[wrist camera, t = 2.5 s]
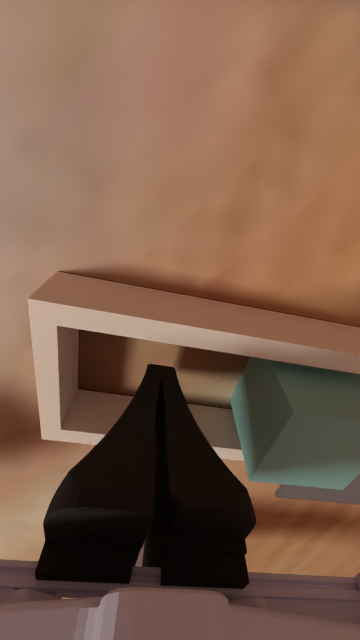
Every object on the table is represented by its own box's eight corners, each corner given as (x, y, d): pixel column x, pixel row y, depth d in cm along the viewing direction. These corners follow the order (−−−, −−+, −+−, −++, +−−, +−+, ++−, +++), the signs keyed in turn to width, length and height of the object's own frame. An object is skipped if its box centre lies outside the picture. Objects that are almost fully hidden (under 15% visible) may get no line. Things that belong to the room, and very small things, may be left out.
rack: (310, 429, 18) (331, 470, 16) (61, 398, 16) (41, 439, 14) (383, 331, 14) (426, 366, 12) (57, 271, 12) (27, 298, 10)
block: (301, 409, 17) (342, 490, 13) (229, 399, 17) (249, 480, 12) (340, 351, 15) (407, 427, 11) (257, 336, 14) (294, 411, 10)
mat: (356, 500, 24) (358, 504, 24) (275, 493, 23) (276, 497, 23) (414, 449, 20) (417, 453, 19) (318, 438, 19) (320, 441, 19)
